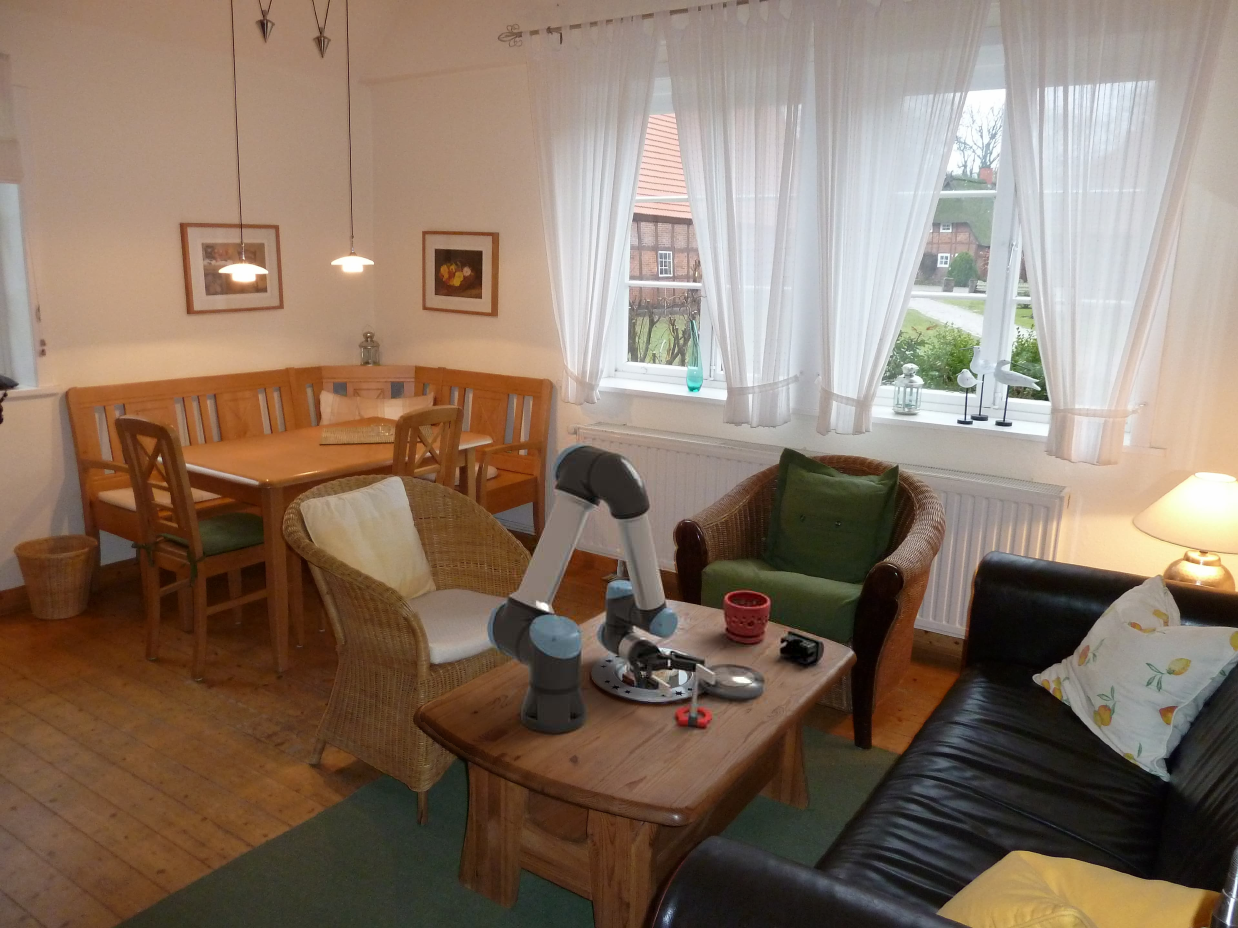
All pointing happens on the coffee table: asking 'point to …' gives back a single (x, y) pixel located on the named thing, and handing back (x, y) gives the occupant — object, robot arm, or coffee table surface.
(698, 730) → the coffee table surface
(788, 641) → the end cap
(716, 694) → the rosette plate
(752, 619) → the plant pot
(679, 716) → the tow hook
